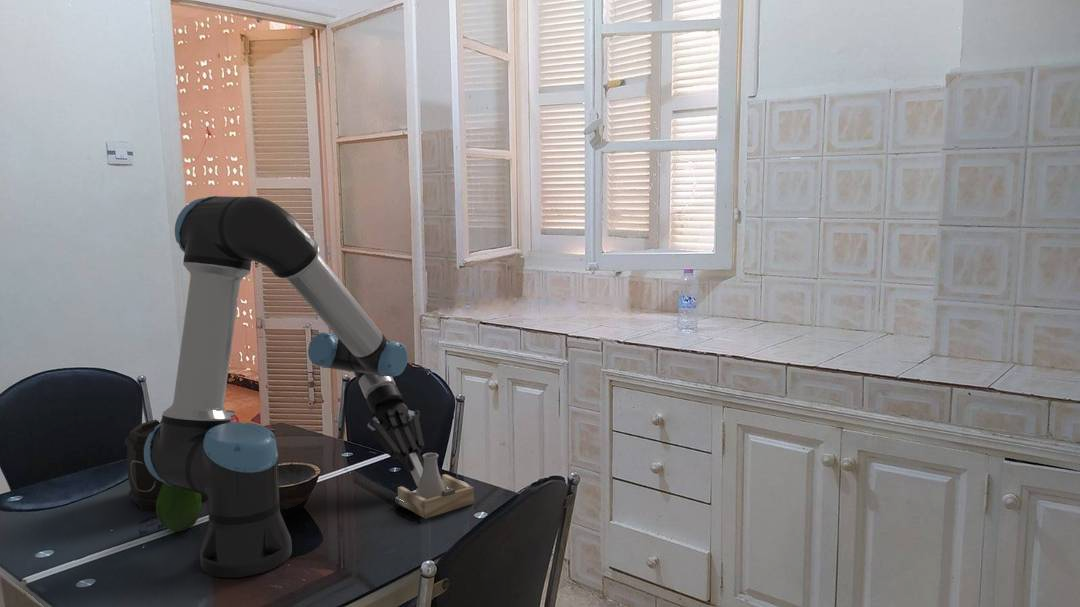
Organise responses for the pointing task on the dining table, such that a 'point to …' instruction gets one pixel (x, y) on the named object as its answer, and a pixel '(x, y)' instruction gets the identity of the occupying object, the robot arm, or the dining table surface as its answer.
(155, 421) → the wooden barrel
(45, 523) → the dining table surface
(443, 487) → the flask
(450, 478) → the u-shaped wooden frame
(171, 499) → the avocado
